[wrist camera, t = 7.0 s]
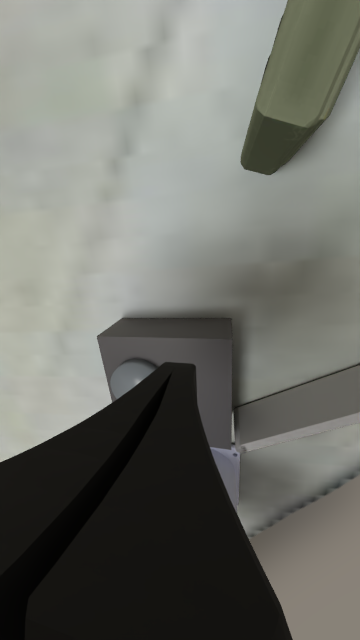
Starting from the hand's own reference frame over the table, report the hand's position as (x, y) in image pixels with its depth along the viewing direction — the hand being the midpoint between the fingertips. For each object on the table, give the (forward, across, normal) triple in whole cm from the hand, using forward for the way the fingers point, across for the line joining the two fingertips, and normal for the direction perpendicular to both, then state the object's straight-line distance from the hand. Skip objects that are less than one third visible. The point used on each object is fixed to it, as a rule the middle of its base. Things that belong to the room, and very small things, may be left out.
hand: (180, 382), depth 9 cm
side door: (+9, -9, +6) cm, 14 cm away
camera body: (+9, +3, +6) cm, 11 cm away
